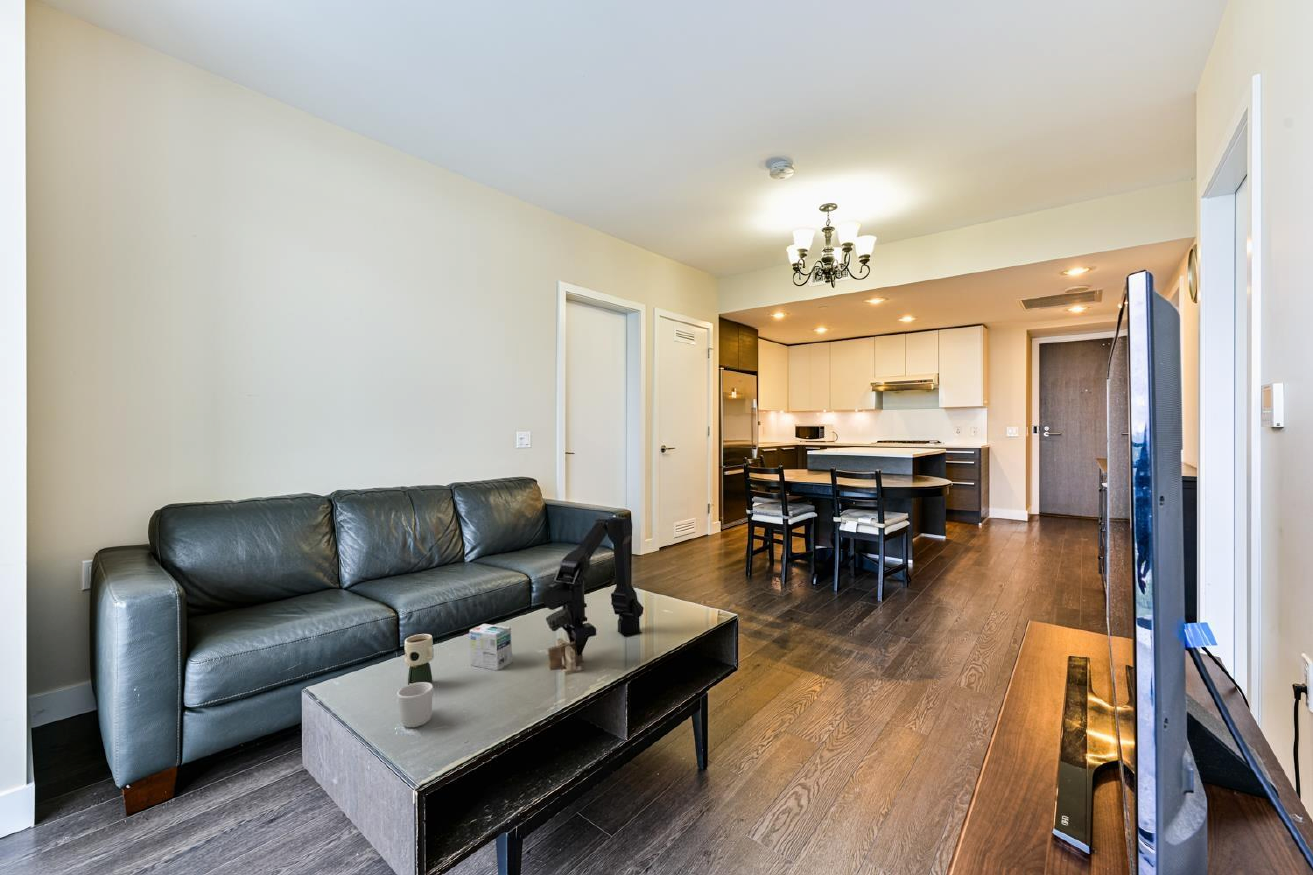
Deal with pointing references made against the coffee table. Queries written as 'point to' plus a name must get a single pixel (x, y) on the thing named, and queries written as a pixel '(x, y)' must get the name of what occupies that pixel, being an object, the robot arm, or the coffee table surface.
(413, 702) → the cup
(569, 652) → the maple jig
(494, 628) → the light bulb box
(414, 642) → the character mug
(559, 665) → the walnut plate
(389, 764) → the coffee table surface
